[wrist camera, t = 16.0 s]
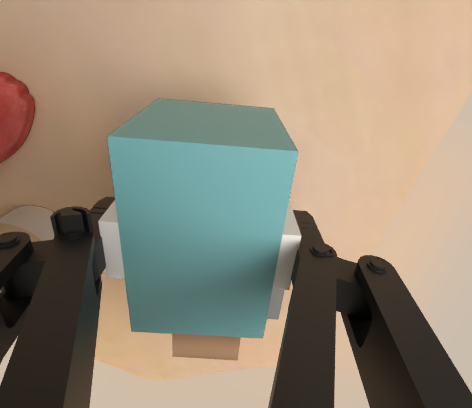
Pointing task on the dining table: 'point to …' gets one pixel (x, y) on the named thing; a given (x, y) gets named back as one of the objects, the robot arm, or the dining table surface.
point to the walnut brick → (205, 346)
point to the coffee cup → (29, 223)
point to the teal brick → (201, 214)
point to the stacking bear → (14, 114)
